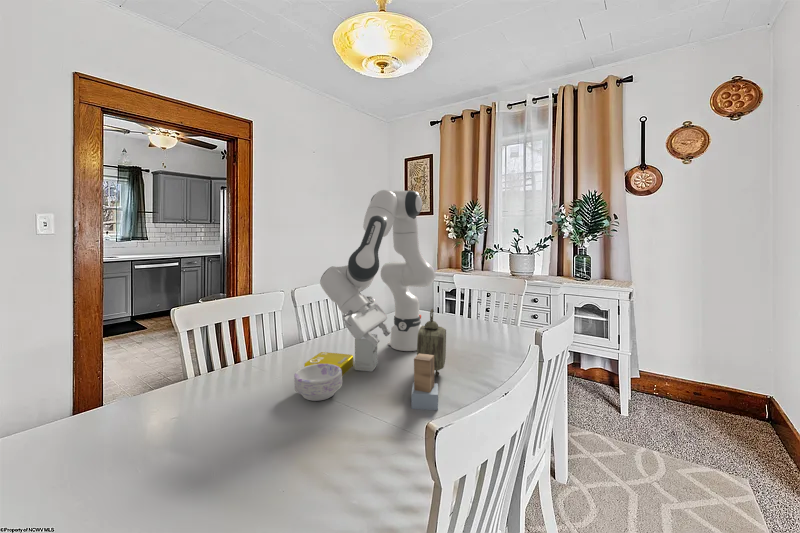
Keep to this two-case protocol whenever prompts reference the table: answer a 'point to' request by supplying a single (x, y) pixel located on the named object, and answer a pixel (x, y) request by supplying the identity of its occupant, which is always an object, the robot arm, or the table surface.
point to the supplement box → (365, 354)
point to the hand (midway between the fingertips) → (383, 339)
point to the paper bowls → (318, 381)
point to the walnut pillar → (424, 372)
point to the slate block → (425, 399)
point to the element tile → (332, 360)
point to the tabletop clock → (433, 342)
